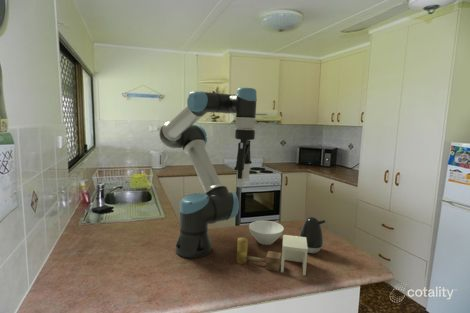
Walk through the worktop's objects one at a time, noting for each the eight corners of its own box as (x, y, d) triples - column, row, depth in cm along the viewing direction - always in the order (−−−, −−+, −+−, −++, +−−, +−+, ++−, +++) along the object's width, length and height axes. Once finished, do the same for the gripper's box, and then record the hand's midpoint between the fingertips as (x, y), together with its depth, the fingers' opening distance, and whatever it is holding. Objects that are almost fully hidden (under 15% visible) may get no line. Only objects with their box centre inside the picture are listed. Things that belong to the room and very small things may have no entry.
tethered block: (235, 263, 110) (236, 241, 109) (238, 257, 115) (239, 236, 114) (278, 271, 105) (280, 248, 104) (280, 265, 110) (281, 243, 109)
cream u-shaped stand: (280, 271, 105) (282, 246, 104) (281, 258, 115) (283, 234, 114) (305, 275, 104) (307, 249, 102) (304, 261, 114) (306, 237, 112)
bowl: (260, 252, 120) (260, 236, 119) (242, 237, 134) (242, 223, 133) (290, 245, 128) (291, 230, 127) (269, 232, 142) (270, 218, 141)
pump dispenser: (324, 257, 117) (327, 222, 115) (298, 254, 119) (300, 220, 117) (321, 247, 127) (324, 214, 125) (298, 244, 129) (300, 212, 127)
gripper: (250, 130, 96) (247, 191, 99) (258, 128, 120) (256, 177, 123) (228, 129, 98) (226, 189, 101) (241, 127, 122) (239, 175, 125)
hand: (242, 182), depth 112 cm, fingers open, 13 cm apart
